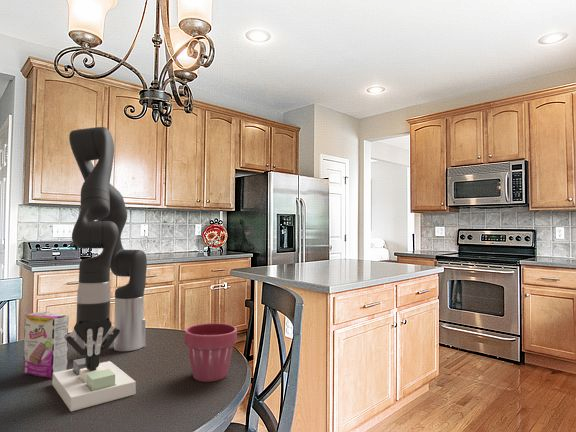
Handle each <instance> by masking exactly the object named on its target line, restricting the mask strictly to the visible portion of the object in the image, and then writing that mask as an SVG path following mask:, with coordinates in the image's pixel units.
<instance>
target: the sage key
mask: <svg viewBox="0 0 576 432" xmlns="http://www.w3.org/2000/svg"><path fill="white" fill-rule="evenodd" d="M86 386H87V387H88V388H89V390H90V391H95V390H99V389H103V388H107V387H111V386H115V374H114V373H113V372H112V371H111V370H110V369H106V370H101V371H97V372H92V373H87V380H86Z"/></svg>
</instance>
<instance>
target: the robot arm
mask: <svg viewBox="0 0 576 432" xmlns="http://www.w3.org/2000/svg"><path fill="white" fill-rule="evenodd" d="M68 136H69V138H68V140H69V145H70V148H71V151H72V154H73V156H74V159H75V161H76V164H77V166H78V168H79V171H80V172H81V176H82V178H83V183H82V185H81V188H80V208H79V209H80V210H79V214H78V217H77V220H76V222H75V223H74V226H73V229H72V233H71V240H72V243H73V245H74V246H75V247H77V248H78V249H81V250H82V249H102V251H101V253H100V254H99V255H95V256H93V257H92V256H91V257H87V258H84V259H81V261H80V263H79V267H78V288H77V294H76V319H75V321H76V323H75V325H74V327H73V330H72V331H71V332H70V333H68V335H65V336H64V339H65V340H66V341H67V342H68V344H69V345H70V346H71V347H72V348H73V349H74V350H75V351H76V352H77V354H79V355H80V356H85V357H84V358H85V367H86V368H87V369H88V370H89V371H93V370H96V367H98V366H99V363H100V354H101V353H103V352H106V351H107V350H108V349H109V347H111V346H112V344H113V350H114V351H116V352H131V351H136V350H139V349H142V348H145V347H146V328H147V327H146V323H147V320H146V318H145V317H144V314H145V313H144V306H145V305H144V302H145V298H144V297H145V289H146V282H147V281H146V279H147V267H148V261H147V255H146V253H145V252H144V250H142V249H125V248H124V247H123V244H122V239H121V238H122V233H123V230H124V228H125V225H126V223H127V219H128V210H127V206H126V203H125V198H124V197H123V195H122V193H121V192H120V191H119V190H118V189H117V188H116V187H114V185H112V184H111V178H112V171H113V163H114V157H115V143H114V139H113V136H112V133H111V132H110V130H109V128H107V127H105V126H97V127H89V128H88V127H87V128H79V129H75V130H72V131H70V133H69V135H68ZM97 160H98V161H97ZM92 161H97V162H96V164H95V166H94V164H93V162H92ZM111 273H112V274H113V275H114V276H116V277H121V278H122V277H125V278H126V277H127V278H128V277H129V280H128V283H127V284H125V285H123V286H120V287H118V288H116V289H115V290H114V312H113V314H114V315H113V316H114V319H113V320H114V321H113V322H114V323H113V324H112V322H111V318H110V317H111V299H112V294H111V283H110V281H111V280H110V279H111V277H110V276H111ZM113 325H114V326H113ZM106 335H107V336H106ZM77 336H78V337H79V338H80V339H81V341H83V345H84V348H83V347H82V346H81V345H80V344H79V343H78V342H77V339H78V337H77ZM105 336H106V337H105ZM104 337H105V338H104ZM103 339H104V340H103Z"/></svg>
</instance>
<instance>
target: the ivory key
mask: <svg viewBox="0 0 576 432" xmlns="http://www.w3.org/2000/svg"><path fill="white" fill-rule="evenodd" d="M101 370H106V369H105V368H104V367H103V366H102V365H99V366H98V367H96V370H93V371H89V370H88V369H87V368H83V369H80V374H79V378H80V380H81V381H82V382H83V383H86V380H87V373H92V372H97V371H101Z"/></svg>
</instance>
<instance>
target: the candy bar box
mask: <svg viewBox="0 0 576 432" xmlns="http://www.w3.org/2000/svg"><path fill="white" fill-rule="evenodd" d="M23 334H24V337H23V338H24V339H23V340H24V341H23V342H24V343H23V372H22V373H23V374H24V375H29V376H34V377H35V376H36V377H41V378H47V379H52V380H53V373H54V372H59V371H64V370H68V355H69V354H68V351H69V350H68V347H69V345H68V344H69V343H68V342H67V341H66V340H65V339H64V336H65V335H69V314H65V313H56V312H46V311H36V312H32V313H26V314H24V333H23Z"/></svg>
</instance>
